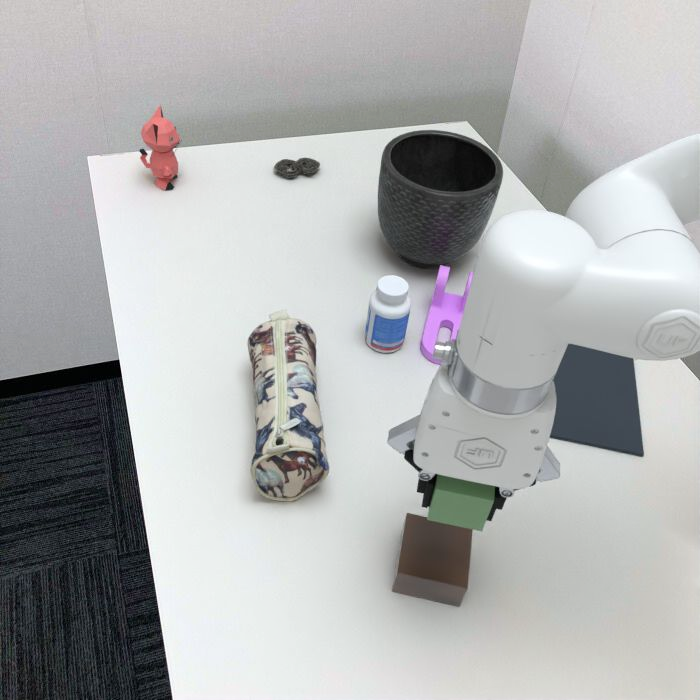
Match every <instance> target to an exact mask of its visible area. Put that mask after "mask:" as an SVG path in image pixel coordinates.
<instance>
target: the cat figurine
mask: <svg viewBox="0 0 700 700" xmlns="http://www.w3.org/2000/svg"><path fill="white" fill-rule="evenodd" d="M140 135H141V138H142V142H144V144H145V145H146V147H148V148H150V149H151V155H150V156H149V162H148V160H147V157H148V155H149V154H148V152H147V151H146V150H145V149H144V148H139V151H138V152H139V153H140V154H141V155H140V157H139V159H140V161H141V163H142V164H143V165H144V167H145V169H150V171H151V174H152V176H153V177H155V178H156V180H155V182H154V185H155V186H156V187H157V188H158V189H161V190H163V191H173V190H174V189H175V186H174V184H173V183H172V181H173V180H175V179H177V178H178V174H179V162H178V159H177V156H176V152H177V149H178V148H179V145H180V144H181V143H182V140H183V139H181V138H180V134H178V132H177V126H176V125H175V126H174V124H173V122H172V121H170V120H169V119H167V118H166V117H164V114H163V109H162V104H161V103H160V104H159V106H158V107H157V109H156V110H155V112H154V114H153V115H152V116H151V117H150V119H149V120H148V121H147V122H146V123H144V124H143V126H142V129H141V131H140ZM174 149H175V150H174Z"/></svg>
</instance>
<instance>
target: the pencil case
mask: <svg viewBox="0 0 700 700" xmlns="http://www.w3.org/2000/svg"><path fill="white" fill-rule="evenodd" d="M268 317H269V319H270V320H268V321H265V322H263V323H260V324H259V325H257V326H256V327H255V328H254V329H253V330H252V332H251V333H250V334H249V336H248V338H247V343H246V345H247V350H248V351H247V352H248V356H249V357H248V358H249V361H250V365H251V368H252V381H253V382H252V383H253V391H254V392H253V393H254V402H255V408H256V409H255V414H254V421H255V426H256V427H255V429H256V430H255V431H256V432H255V448H254V449H255V450H254V451H255V453H254V454H253V457H252V459H251V463H250V468H249V472H250V475H251V478H252V481H253V484H254V487H255V489H256V490H257V491H258V493H259V494H260V495H262V496H263V497H265V498H267V499H270V500H273V501H278V502H279V501H280V502H281V501H282V502H295V501H296V500H299V499H300V498H301V497H303V496H304V495H305V494H307V493H308V492H309V491H311V490H313V489H315V488H316V487H317V486H319V485H320V484H322V482H324V481H325V480H326V478H327V477H328V475H329V472H330V464H329V461H328V454H327V450H326V440H325V436H324V423H323V419H322V414H321V413H322V412H321V407H320V400H319V395H318V390H317V385H318V381H317V372H316V371H317V337H316V336H317V335H316V333H315V330H314V329H313V328H312V327H311V325H309V324H308V323H307V322H305V321H304V320H302V319H300V318H297V317H290V316H289V313H288V311H287V309H282V310H279V311H278V310H277V311H275V312H272V313H270V314H268Z"/></svg>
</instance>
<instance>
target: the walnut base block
mask: <svg viewBox="0 0 700 700" xmlns="http://www.w3.org/2000/svg"><path fill="white" fill-rule="evenodd" d="M427 517H428V516H424V515H419V514H415V513H409V512H406V515H405V518H404V521H403V525H402V528H401V532H400V538H399V543H398V551H397V557H396V563H395V569H394V575H393V581H392V586H391V592H392V593H397V594H402V595H405V596H411V597H415V598H419V599H423V600H428V601H432V602H436V603H441V604H446V605H449V606H455V607H459V608H460V606H461V605H462V602H463V601H464V598H465V596H466V593H467V591H468V589H469V579H470V577H469V576H470V568H471V567H470V566H471V556H472V555H471V554H472V543H473V532H474V530H473V529H468V528H464V527H459V526H454V525H449V524H445V523H440V522H435V521H430V520H427Z"/></svg>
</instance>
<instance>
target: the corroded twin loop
mask: <svg viewBox="0 0 700 700" xmlns="http://www.w3.org/2000/svg"><path fill="white" fill-rule="evenodd" d="M305 166H307V167H305ZM320 166H321V163H320V162H319V161H318V160H316V159H314V158H311V157H300V158H298V159H297V160H294V159H288V158H284V159H281V160H279V161H277V162H275V164H274V166H273V169H274V170H275V172H276V173H277V174H278V175H280V176H283V177H285V178H288V179H292V178H296V177H297V176H298V175H299V174H301V175H305V176H312V175H314V174H316V172H317V171H318V170H319V169H320ZM290 167H291V168H293V169H294V170H290Z"/></svg>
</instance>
